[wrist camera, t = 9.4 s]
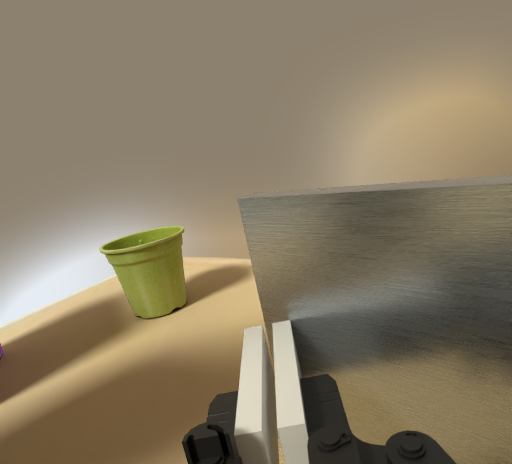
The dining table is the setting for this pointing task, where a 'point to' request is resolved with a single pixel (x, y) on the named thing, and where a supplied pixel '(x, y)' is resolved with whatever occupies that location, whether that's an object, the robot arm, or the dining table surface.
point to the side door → (397, 303)
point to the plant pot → (150, 269)
